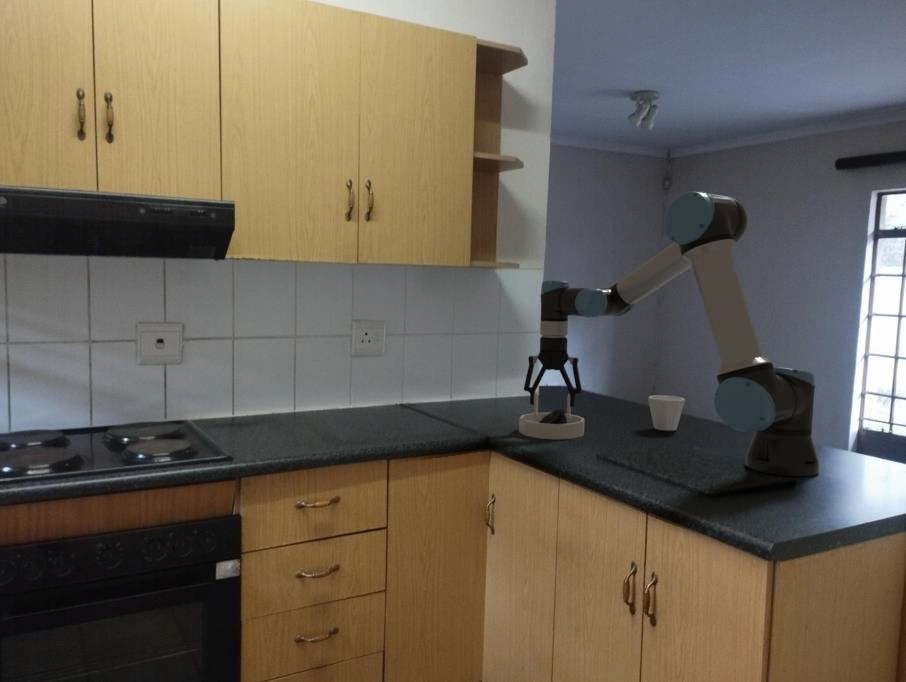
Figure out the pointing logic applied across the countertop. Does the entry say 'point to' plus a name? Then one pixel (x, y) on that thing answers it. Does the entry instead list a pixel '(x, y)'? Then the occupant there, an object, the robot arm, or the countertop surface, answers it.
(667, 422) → the cup
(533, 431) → the bowl
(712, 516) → the countertop surface
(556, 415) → the rock
